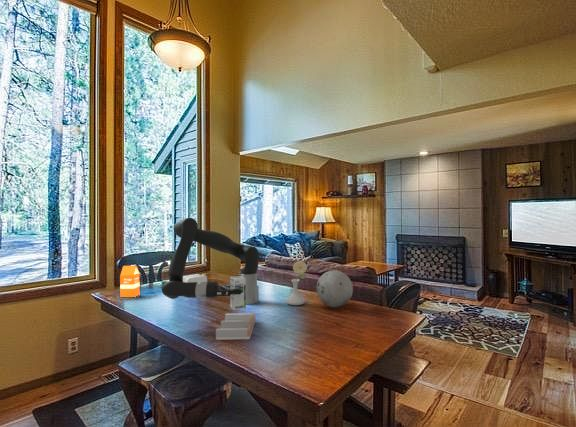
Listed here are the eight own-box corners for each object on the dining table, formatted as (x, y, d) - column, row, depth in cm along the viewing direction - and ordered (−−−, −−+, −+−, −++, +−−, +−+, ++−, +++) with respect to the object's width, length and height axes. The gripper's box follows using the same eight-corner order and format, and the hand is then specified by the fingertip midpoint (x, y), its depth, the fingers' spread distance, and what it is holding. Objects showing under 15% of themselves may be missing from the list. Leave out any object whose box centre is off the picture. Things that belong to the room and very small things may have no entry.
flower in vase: (282, 305, 179) (282, 261, 179) (290, 300, 190) (289, 258, 190) (304, 308, 174) (303, 262, 174) (310, 302, 185) (310, 259, 185)
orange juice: (134, 298, 201) (133, 266, 201) (120, 298, 202) (119, 266, 202) (139, 294, 209) (139, 264, 209) (126, 295, 209) (126, 264, 209)
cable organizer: (186, 296, 203) (185, 278, 203) (179, 293, 211) (178, 276, 211) (207, 292, 213) (207, 275, 213) (200, 289, 221) (199, 273, 221)
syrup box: (233, 310, 144) (233, 278, 144) (230, 307, 149) (230, 276, 149) (245, 308, 146) (245, 277, 146) (241, 305, 152) (241, 275, 152)
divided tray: (215, 339, 132) (215, 330, 132) (226, 321, 154) (225, 313, 154) (249, 339, 132) (249, 329, 132) (254, 321, 154) (254, 313, 154)
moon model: (360, 306, 176) (359, 270, 176) (339, 314, 162) (338, 275, 162) (331, 299, 190) (330, 266, 190) (309, 307, 176) (308, 270, 176)
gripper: (203, 285, 140) (240, 285, 141) (210, 278, 155) (244, 278, 155) (203, 302, 140) (240, 302, 140) (210, 294, 155) (244, 293, 155)
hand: (242, 289), depth 148 cm, fingers closed on syrup box, 7 cm apart
